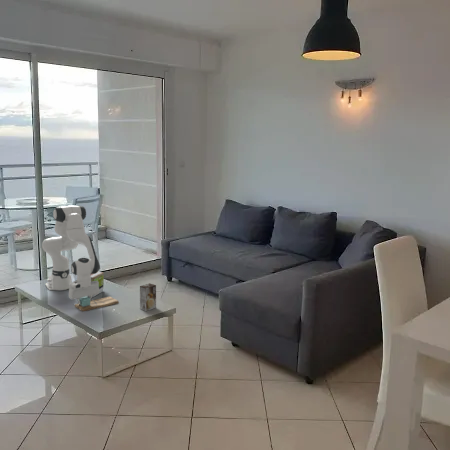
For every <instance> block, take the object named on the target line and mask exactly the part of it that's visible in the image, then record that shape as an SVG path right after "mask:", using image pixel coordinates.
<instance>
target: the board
mask: <svg viewBox="0 0 450 450" xmlns="http://www.w3.org/2000/svg"><path fill="white" fill-rule="evenodd" d="M119 301H120V300H118V299H116V298H113V297H112V296H106V297H102V298H101V297H100V298H97V299H94V300H93V299H92V300H91V302H90V306H86V307H82V306H80V305H79V304H78V303H75V304H74V308H76V309H78V310H80V311H81V312H86V311H90V310H94V309H100V308H104V307H108V306H112V305H118V304H119V303H120V302H119Z"/></svg>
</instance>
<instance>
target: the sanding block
mask: <svg viewBox="0 0 450 450" xmlns="http://www.w3.org/2000/svg"><path fill="white" fill-rule="evenodd" d="M79 300H80V301H82V302H81V303H82V304H79V305H80V306H82V307H86V306H90V298H89V296H86V297H81V298H80V299H79Z"/></svg>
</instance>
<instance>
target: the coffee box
mask: <svg viewBox="0 0 450 450" xmlns="http://www.w3.org/2000/svg"><path fill="white" fill-rule="evenodd" d="M156 308H157V284H153V283H146V284H143V285H140V286H139V309H140V310H142V311H144V312H149V311H151V310H153V309H156Z"/></svg>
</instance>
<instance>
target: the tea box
mask: <svg viewBox="0 0 450 450" xmlns="http://www.w3.org/2000/svg"><path fill="white" fill-rule="evenodd" d="M90 276H91V281H98V282H99V293H98V294H95V295H92V298H95V297H96V296H97V295H99V294H101V293H103V292H104V290H105V289H104V277H105V275H104V272H102V271H98V272H97V273H96V274H90Z"/></svg>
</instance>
